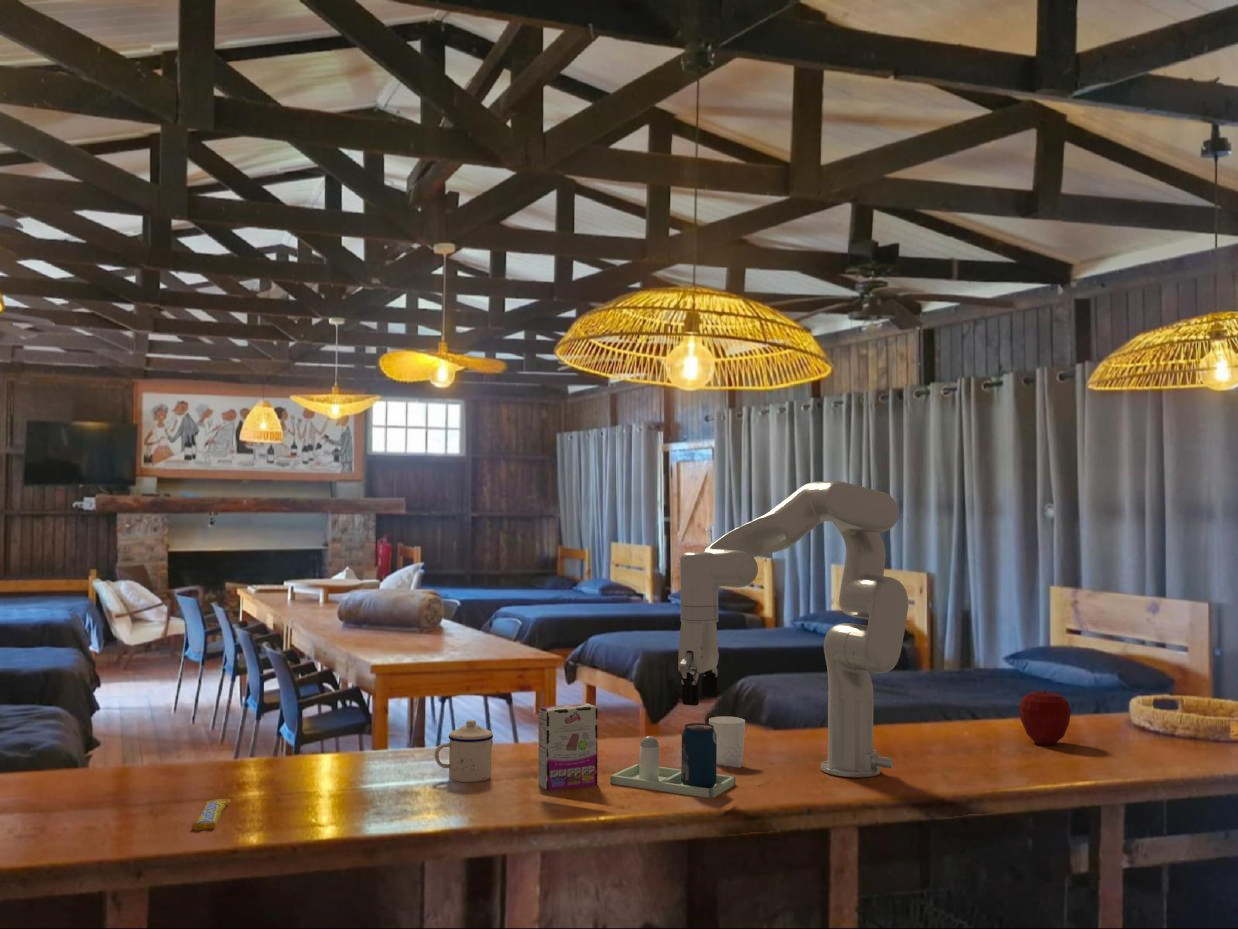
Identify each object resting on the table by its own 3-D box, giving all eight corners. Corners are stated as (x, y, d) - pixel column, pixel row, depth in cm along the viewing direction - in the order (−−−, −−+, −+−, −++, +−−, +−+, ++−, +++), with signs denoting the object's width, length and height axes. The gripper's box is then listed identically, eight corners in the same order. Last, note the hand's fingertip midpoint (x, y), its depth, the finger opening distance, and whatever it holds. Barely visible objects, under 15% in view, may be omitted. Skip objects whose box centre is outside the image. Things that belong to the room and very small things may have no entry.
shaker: (662, 779, 218) (662, 735, 218) (653, 784, 214) (654, 738, 214) (644, 777, 219) (645, 733, 220) (635, 781, 216) (636, 736, 216)
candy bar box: (587, 783, 218) (588, 702, 218) (598, 789, 213) (599, 706, 214) (536, 789, 212) (537, 706, 213) (546, 795, 208) (547, 710, 209)
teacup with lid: (485, 771, 227) (486, 715, 228) (497, 781, 219) (498, 723, 219) (429, 775, 223) (430, 718, 223) (439, 786, 214) (440, 727, 215)
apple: (1079, 749, 257) (1079, 693, 257) (1030, 748, 257) (1030, 692, 257) (1059, 738, 269) (1059, 685, 269) (1012, 737, 269) (1012, 684, 269)
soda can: (722, 786, 213) (722, 725, 214) (706, 793, 207) (707, 730, 208) (691, 781, 217) (691, 721, 217) (675, 788, 211) (675, 726, 211)
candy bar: (215, 833, 183) (215, 822, 183) (189, 834, 182) (189, 823, 182) (230, 806, 199) (230, 796, 199) (206, 807, 198) (206, 797, 198)
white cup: (743, 771, 230) (743, 724, 230) (706, 769, 232) (706, 722, 232) (746, 763, 238) (746, 717, 238) (710, 760, 239) (711, 715, 240)
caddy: (735, 789, 215) (735, 776, 215) (712, 803, 204) (712, 790, 204) (636, 775, 225) (637, 763, 225) (610, 788, 214) (610, 775, 214)
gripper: (699, 609, 223) (700, 692, 222) (664, 617, 208) (664, 707, 207) (732, 610, 219) (733, 695, 219) (699, 619, 204) (700, 710, 204)
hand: (700, 700), depth 213 cm, fingers open, 9 cm apart
